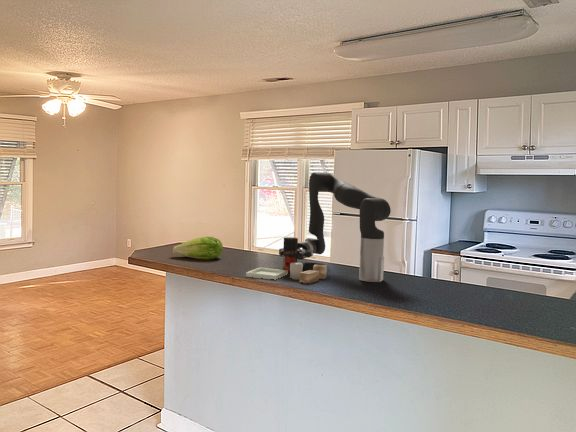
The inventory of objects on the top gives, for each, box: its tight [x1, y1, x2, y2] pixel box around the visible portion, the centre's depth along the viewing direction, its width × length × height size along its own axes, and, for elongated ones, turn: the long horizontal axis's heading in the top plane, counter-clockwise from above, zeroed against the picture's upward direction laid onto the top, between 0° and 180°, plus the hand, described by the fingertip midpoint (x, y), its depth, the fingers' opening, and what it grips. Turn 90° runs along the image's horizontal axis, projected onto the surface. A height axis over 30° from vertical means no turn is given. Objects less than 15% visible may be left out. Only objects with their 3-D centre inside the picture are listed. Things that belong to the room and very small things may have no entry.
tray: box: [245, 267, 289, 281], centre depth 198 cm, size 13×13×2 cm
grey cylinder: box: [289, 261, 304, 280], centre depth 195 cm, size 5×5×6 cm
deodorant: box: [282, 237, 299, 275], centre depth 205 cm, size 6×6×15 cm
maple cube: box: [312, 263, 328, 280], centre depth 199 cm, size 5×5×5 cm
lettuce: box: [172, 236, 224, 260], centre depth 238 cm, size 12×24×13 cm
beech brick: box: [298, 269, 320, 284], centre depth 190 cm, size 4×8×4 cm, turn 147°
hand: (290, 254), depth 205 cm, fingers open, 8 cm apart
